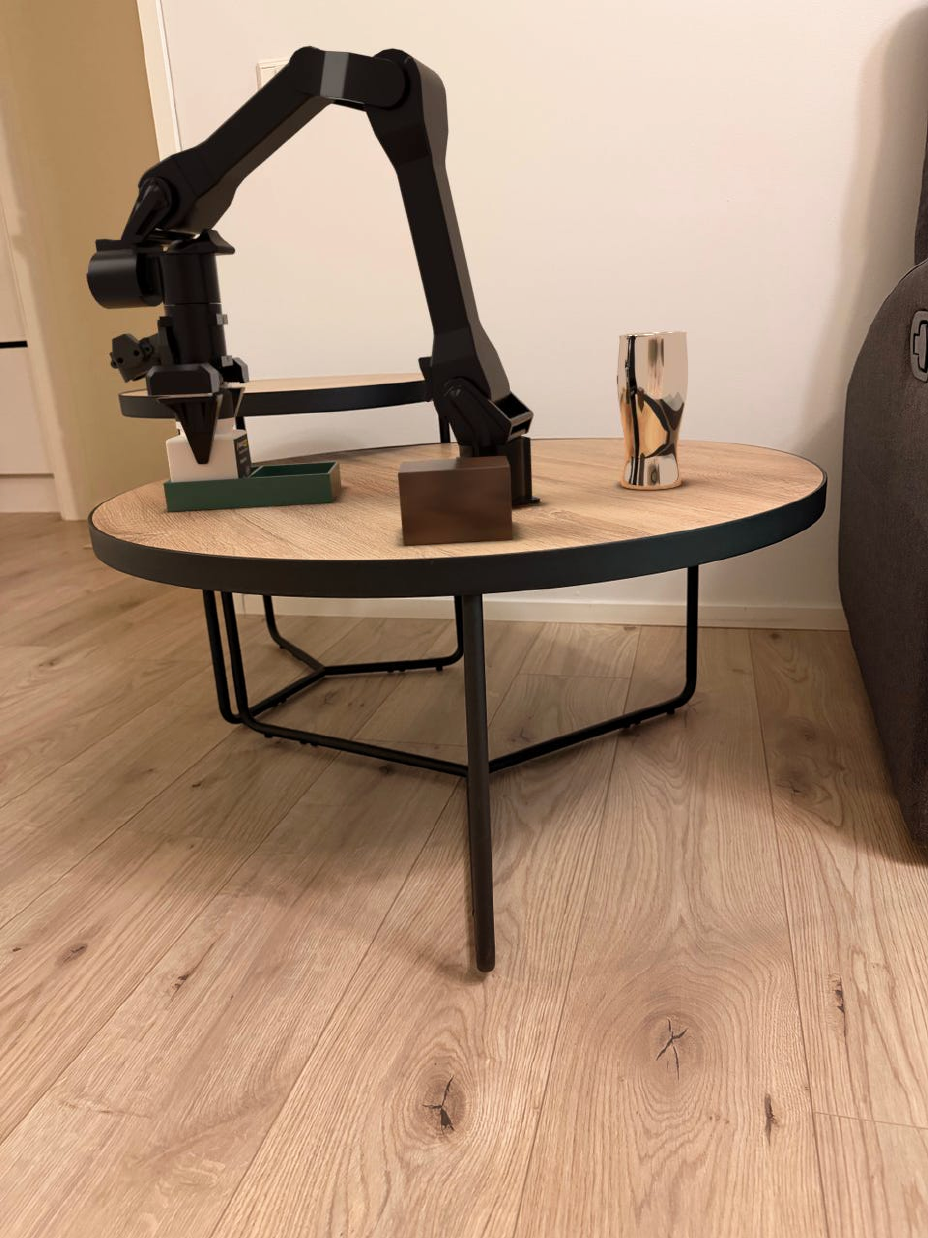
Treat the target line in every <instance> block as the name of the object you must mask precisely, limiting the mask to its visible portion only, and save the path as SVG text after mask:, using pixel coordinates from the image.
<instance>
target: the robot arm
mask: <svg viewBox="0 0 928 1238" xmlns="http://www.w3.org/2000/svg"><path fill="white" fill-rule="evenodd" d="M446 91H447V90H446V87H445V85H444V81H443V80H442V78H441V77H440V75H439V74H438V73H437V72H436V71H435V70H434V69H431V68H430V67H429V66H428V65H426V64H424V63H423V62H421V61H420V60H418V59H417V58H415V57H414V56H412V55H411V54H409V53H408V52H406V51H404V50H403V49H399V48H394V47H391V48H387V49H381V50H380V51H379V52H376V54H374V55H372V56H370V55H365V54H361V53H355V52H352V51H351V52H350V51H339V50H337V51H336V50H324V49H320V48H318V47H315V46H314V45H313V46H312V45H307V46H302V47H299V48H297V49H296V50H295V51H294V52H293V53H292V54H291V56H290V57H289V59H288V62H287V63H286V64H285V65H284V66H283V67H281V69H280V70H279V71H278V72H276V73H275V75H273V76H272V77H271V78H270V79H269V80H267V82H266V83H265V84H264V85H263V86H262V87H261V88H259V89H258V90H257V91H256V92H255V93H254V94H253V95H251V97H250V98H249V99H247V100H246V101H245V102H244V103H243V104H242V105H241V106H240V107H239V108H238V109H237V110H236V111H235V112H234V113H232V114H231V116H229V117H228V118H227V119H226V120H225V121H224V122H223V123H222V124H221V125H220V126H219V127H218V128H217V129H216V130H214V131H213V132H212V133H211V134H210V135H209V136H208V137H207V138H206V139H205V140H203V141H202V142H200V143H198V144H197V145H194V146H193V147H190V148H187V149H183V150H181V151H178V152H175V153H172V154H170V155H168V156H167V157H166V158H164V159H162V160H161V161H159V162H157V163H156V164H154V165H153V166H150V167H149V168H148V169H146V170H144V172H143V174H141V176H140V178H139V180H138V182H137V188H138V196H137V198H136V200H135V203H134V205H133V207H132V209H131V212H130V213H129V214H130V215H129V216H128V219H127V222H126V224H125V226H124V229H123V231H122V234H121V236H120V239H112V238H96V239H95V240H94V243H95V244H94V245H95V250H96V251H95V252H94V253H93V255H91V257H90V259H89V262H88V266H87V272H86V273H85V277H86V283H87V286H88V289H89V292H90V294H91V296H92V298H93V300H94V301H95V302H96V303H97V304H98V305H99V306H100V307H102V308H104V309H106V310H120V309H121V310H123V309H136V308H137V309H138V308H156V307H158V306H160V305H161V304H162V305H163V313H164V315H161V316H158V319H157V320H156V326H157V332H156V333H153V334H152V335H151V334H150V335H149V336H146V337H145V336H144V337H142V338H141V339H138V338H137V337H135V336H134V335H133V334H132V333H122V334H120V335H117V336H116V337H113V338H112V339H111V348H112V349H111V352H108V353H109V356H110V359H111V361H110V366H111V368H113V369H114V370H118V372H119V374H120V376H121V378H122V380H123V382H124V383H125V384H129V382H130V381H132V382H138V381H140V380H143V379H145V385H146V386H145V387H146V392H147V397H157V398H155V400H156V401H157V402H158V404H160V405H161V404H162V405H163V406H165V407H166V408H167V409H169V411H171V412H173V414H174V413H175V414H176V415H177V417H178V419H179V421H180V423H181V426H182V428H183V430H184V433H185V435H186V437H187V440H188V442H189V445H190V447H191V450H192V452H193V454H194V457H195V459H196V462H197V463H198V464H208V463H209V459H210V455H211V451H212V446H213V441H214V436H215V431H216V426H217V421H218V416H219V412H220V407H221V402H222V397H223V394H212V393H214V392H218V391H219V387H223V388H225V389H227V390H229V391H230V392H231V395H232V403H233V410H234V418H235V419H236V418H237V415H238V412H239V408H240V405H241V402H242V398H243V396H244V394H245V392H246V386H233V384H235V383H237V384H238V383H239V384H240V385H241V384H247V383H250V373H249V366H248V363H245V361H244V360H242V359H241V358H240V357H239V356H237V357H233V355H232V354H228V349H227V339H226V332H225V331H226V330H225V325H229V318H228V314H226V313H224V314H223V307H222V306H223V305H222V297H221V289H220V279H219V271H218V263H217V257H218V256H219V257H221V256H232V255H234V254H235V253H236V248H235V247H234V246H233V245H232V244H230V243H229V242H228V241H227V240H225V239H224V238H223V237H222V236H221V234H220V233H219V231H218V230H216V229H213V228H214V227H216V225H217V224H218V222H220V220H221V218H223V216H224V215H225V214H226V212H227V211H228V209H229V208H230V207H231V206H232V204H233V201H234V198H235V195H236V192H237V189H238V188H239V186H241V184H242V183H243V181H244V180H245V179H246V178H247V177H248V176H249V175H250V174H252V173H253V172H254V171H255V170H256V169H257V168H258V167H260V166H261V165H262V164H263V163H265V161H267V160H268V159H269V158H270V157H272V155H273V154H275V153H276V152H277V151H278V150H279V149H280V148H281V147H283V146H284V145H285V144H286V143H287V142H288V141H289V140H290V139H292V138H293V137H294V136H295V135H296V134H297V133H298V132H299V131H301V130H302V129H303V128H304V127H305V126H306V125H308V124H309V122H311V121H312V120H313V119H314V118H316V116H317V115H319V114H320V113H321V112H322V111H323V110H324V109H325V108H327V107H328V106H330V105H333V106H339V107H344V108H346V109H347V108H348V109H351V110H355V111H359V112H363V113H365V114H366V117H367V119H368V122H369V124H370V126H371V128H372V131H373V134H374V136H375V138H376V139H377V141H378V144H379V145H380V146H381V148H382V150H383V152H384V153H385V155H386V157H387V158H388V161H389V163H390V164H391V166H392V168H393V169H394V172H395V174H396V177H397V182H398V186H399V190H400V195H401V198H402V203H403V207H404V212H405V215H406V216H405V217H406V221H407V224H408V228H409V233H410V237H411V242H412V246H413V250H414V254H415V258H416V262H417V266H418V267H417V268H418V271H419V275H420V280H421V283H422V288H423V292H424V297H425V301H426V305H427V309H428V313H429V319H430V323H431V326H432V332H433V334H432V335H433V338H432V347H431V355H427V356H421V357H419V358H417V363H418V367H419V369H420V372H421V375H422V377H423V379H424V382H425V388H426V394H425V395H426V396H425V402H426V403H432V402H433V403H432V404H433V407H434V408H435V412H436V414H437V415H438V417H440V419H441V420H443V421H445V422H446V423H448V425H449V426H450V428H451V430H452V433H453V436H454V437H455V438H454V439H455V441H456V443H457V445H458V450H459V451H458V454H459V456H456V457H455V459H457V458H475V457H493V456H506V458H507V460H508V463H509V466H510V479H511V505H512V508H514V507H521V506H527V505H528V506H529V505H534V504H541V498H540V497H539V496H536V495H533V472H532V471H533V469H532V442H531V441H532V440H531V439H532V438H531V437H529V436H524V435H527V434H528V433H529V432H530V429H531V425H532V423H533V419H534V411H532V410H531V409H530V408H529V407H528V406H527V405H526V404H525V403H524V402H523V401H522V400H521V399H520V398H519V397H518V396H517V395H516V394H515V393H514V392H513V391H512V390H511V386H510V381H509V378H508V376H507V374H506V371H505V369H504V365H503V364H502V361H501V359H500V355H499V353H498V351H497V349H496V348H495V346H494V344H493V342H492V341H491V339H490V337H489V336H488V334H487V331H486V330H485V328H484V327H483V324H482V322H481V320H480V316H479V312H478V307H477V302H476V298H475V294H474V290H473V285H472V284H473V283H472V280H471V276H470V271H469V266H468V262H467V257H466V253H465V248H464V244H463V240H462V235H461V230H460V225H459V221H458V217H457V213H456V208H455V204H454V200H453V199H454V198H453V194H452V189H451V185H450V180H449V176H448V172H447V164H446V159H447V150H448V140H449V132H450V131H449V115H448V103H447V92H446ZM197 235H198V236H197ZM196 236H197V237H196ZM195 237H196V238H195ZM165 248H167V249H166V250H164V249H165ZM175 414H174V415H175ZM232 427H233V428H234V425H232Z"/></svg>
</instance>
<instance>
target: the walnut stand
mask: <svg viewBox="0 0 928 1238" xmlns="http://www.w3.org/2000/svg"><path fill="white" fill-rule="evenodd" d="M397 481H398V482H397V483H398V493H399V494H398V495H399V507H400V519H401V533H402V544H403V546H416V545H432V544H435V545H437V544H452V543H469V542H486V541H490V542H491V541H504V540H505V541H507V540H513V539H514V533H513V510H512V509H513V507H512V505H511V479H510V466H509V463H508V460H507V458H506V456H493V457H475V458H457V459H456V458H444V459H443V458H442V459H441V458H440V459H424V460H407V461H401V464H400V466H399V469H398V471H397Z"/></svg>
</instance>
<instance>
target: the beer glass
mask: <svg viewBox="0 0 928 1238" xmlns="http://www.w3.org/2000/svg"><path fill="white" fill-rule="evenodd" d="M687 340H688V339H687V331H685V330H684V331H683V330H681V331H680V330H677V331H676V330H675V331H673V330H672V331H654V332H653V331H652V332H634V333H624V334H623V333H622V334H619V335H618V347H617V358H616V359H617V360H616V394H617V403H618V409H619V416H620V421H621V427H622V433H623V440H624V462H623V468H622V469H623V470H622V474H621V481H620V484H621V486H622V487H623V488H625V489H631V490H637V491H639V490H640V491H641V490H642V491H655V490H656V491H657V490H666V489H674V488H677V487H679V486H681V484H682V476H681V470H680V463H679V451H678V450H679V439H680V433H681V427H682V421H683V416H684V411H685V406H686V399H687V393H688V382H689V381H688V380H689V359H688V358H689V357H688V343H687V342H688V341H687Z"/></svg>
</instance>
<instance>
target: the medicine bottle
mask: <svg viewBox="0 0 928 1238" xmlns="http://www.w3.org/2000/svg"><path fill="white" fill-rule="evenodd" d="M212 394H223V397H222V402H221V407H220V412H219V416H218V421H217V426H216V431H215V436H214V441H213V446H212V451H211V455H210V459H209V463H208V464H198V463H197V462H196V459H195V457H194V454H193V452H192V450H191V447H190V445H189V442H188V440H187V437H186V435H185V433H184V430H183V428H182V426H181V423H180V421H179V419H178V417H177V415H176V414H175V413H174V412H173V414H174V421H175V427H176V429H177V430H179V433H180V434H179V435H176V436H174V437H171V438H168V439H167V440H166V441H165V447H166V453H167V460H168V466H169V473H170V474H169V475H170V479H171V481H172V482H186V481H203V480H220V479H238V478H246V477H248V476H249V475H250V474H251V473H252V472H251V466H252V465H251V456H250V449H249V448H250V447H249V440H248V433H247V431H246V430H245V429H234V425H236V418H234V410H233V403H232V395H231V392H230V391H229V390H227V389H225V388H223V387H219V391H218V392H214V393H212ZM232 425H233V427H232Z"/></svg>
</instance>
